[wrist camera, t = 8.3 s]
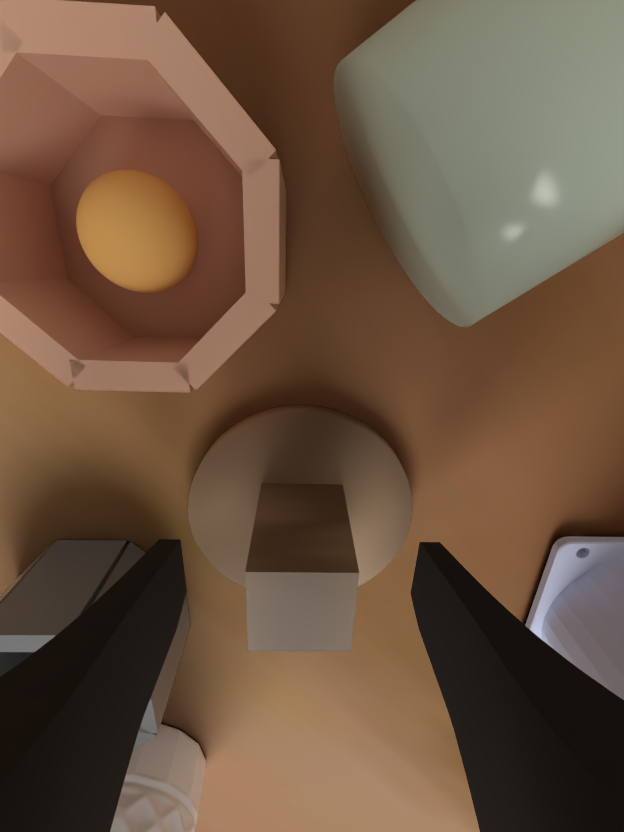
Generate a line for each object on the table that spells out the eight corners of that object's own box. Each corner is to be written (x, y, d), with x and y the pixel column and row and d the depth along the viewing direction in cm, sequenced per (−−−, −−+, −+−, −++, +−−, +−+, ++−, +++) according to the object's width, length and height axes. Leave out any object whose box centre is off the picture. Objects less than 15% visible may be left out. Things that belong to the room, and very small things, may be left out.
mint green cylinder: (505, -15, 9) (799, -417, 4) (579, 212, 11) (845, 162, 5) (325, 125, 10) (352, -35, 5) (422, 311, 12) (520, 350, 6)
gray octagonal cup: (180, 541, 15) (138, 635, 11) (194, 658, 17) (164, 768, 13) (2, 539, 14) (-102, 634, 11) (43, 659, 17) (-30, 770, 13)
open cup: (287, 99, 9) (279, 13, 6) (284, 359, 12) (278, 395, 9) (15, 84, 9) (-140, -13, 6) (70, 353, 12) (-18, 387, 8)
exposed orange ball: (205, 184, 10) (173, 157, 7) (212, 291, 11) (185, 298, 8) (102, 180, 10) (35, 151, 7) (118, 287, 10) (64, 294, 8)
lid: (419, 405, 13) (485, 484, 8) (392, 581, 16) (429, 710, 11) (186, 399, 13) (119, 477, 8) (203, 579, 16) (161, 712, 11)
